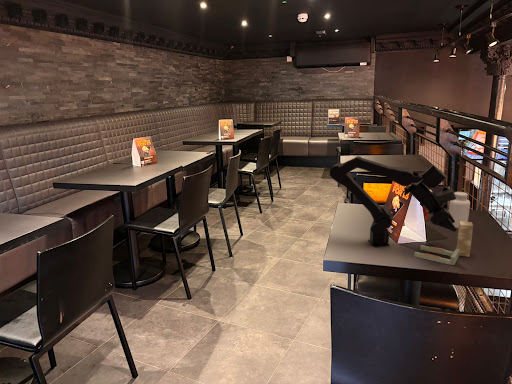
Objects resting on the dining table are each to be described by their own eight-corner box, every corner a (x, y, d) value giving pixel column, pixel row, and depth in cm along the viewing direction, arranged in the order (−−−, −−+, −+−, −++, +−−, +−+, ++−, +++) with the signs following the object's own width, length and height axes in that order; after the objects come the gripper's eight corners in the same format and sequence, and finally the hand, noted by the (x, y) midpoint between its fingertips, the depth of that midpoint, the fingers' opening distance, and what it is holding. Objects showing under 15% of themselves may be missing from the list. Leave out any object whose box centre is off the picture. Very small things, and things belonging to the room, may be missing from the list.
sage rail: (414, 256, 137) (414, 249, 136) (421, 248, 143) (421, 241, 142) (453, 265, 129) (454, 257, 128) (458, 256, 135) (459, 249, 134)
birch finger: (457, 255, 136) (460, 224, 133) (456, 250, 140) (459, 221, 137) (470, 256, 135) (473, 226, 132) (468, 252, 138) (472, 222, 135)
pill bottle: (466, 229, 160) (470, 196, 156) (446, 227, 164) (449, 194, 160) (467, 224, 166) (471, 192, 162) (448, 221, 170) (451, 190, 166)
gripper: (443, 188, 126) (477, 221, 124) (441, 176, 142) (471, 205, 141) (417, 208, 131) (449, 240, 129) (417, 194, 147) (446, 223, 146)
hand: (454, 226), depth 136 cm, fingers open, 9 cm apart
